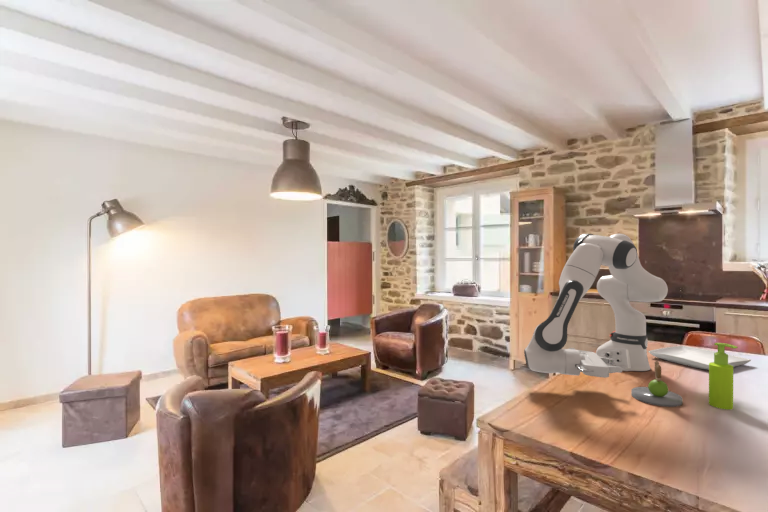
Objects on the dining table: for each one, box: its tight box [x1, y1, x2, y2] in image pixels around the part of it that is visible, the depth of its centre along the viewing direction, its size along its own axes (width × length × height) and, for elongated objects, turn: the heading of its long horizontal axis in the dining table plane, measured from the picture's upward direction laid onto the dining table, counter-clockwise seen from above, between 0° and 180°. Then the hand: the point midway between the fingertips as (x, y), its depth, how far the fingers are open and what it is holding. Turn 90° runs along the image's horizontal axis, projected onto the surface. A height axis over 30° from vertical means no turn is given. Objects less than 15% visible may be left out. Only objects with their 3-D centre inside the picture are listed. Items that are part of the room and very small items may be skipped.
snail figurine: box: [647, 356, 669, 397], centre depth 129 cm, size 5×6×12 cm
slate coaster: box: [630, 386, 683, 408], centre depth 131 cm, size 14×14×2 cm
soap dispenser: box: [708, 342, 739, 411], centre depth 124 cm, size 6×7×20 cm
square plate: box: [647, 345, 752, 371], centre depth 174 cm, size 27×27×4 cm
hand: (617, 365), depth 134 cm, fingers open, 8 cm apart
